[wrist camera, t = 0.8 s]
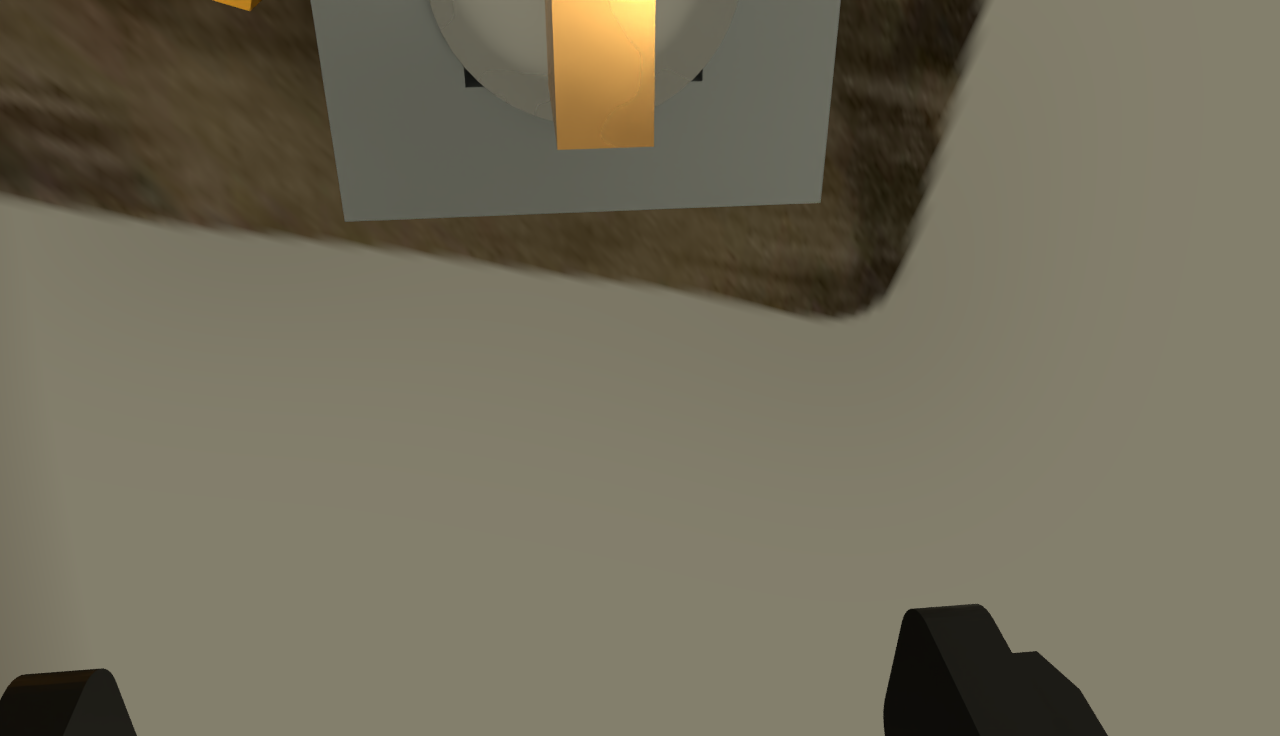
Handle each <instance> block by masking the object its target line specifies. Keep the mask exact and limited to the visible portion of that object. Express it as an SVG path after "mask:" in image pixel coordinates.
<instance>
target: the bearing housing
mask: <svg viewBox="0 0 1280 736" xmlns="http://www.w3.org/2000/svg"><path fill="white" fill-rule="evenodd" d="M840 2H841V0H738V2H737V6H736V9H735V12H734V15H733V17H732V20H731V23H730V26H729V28H728V30H727V32H726V34H725V36H724V38H723V40H722V42H721V44H720V45H719V47H718V48H717V50H716V51H715V53H714V54H713V56H712V57H711V59H710V60H709V62H708V63H707V64H706V65H705V66H704V68H703V69H702V70H701V71H700V72H699V73H698V75H697V76H696V77H695V78H694V79H693V80H692V81H691V82H689V83H688V84H687V85H686V86H685V87H684V88H683V89H682V90H680V91H679V92H678V93H676V94H675V95H674V96H672V97H671V98H669V99H668V100H666V101H665V102H663V103H661V104H660V105H658V106H656V107H654V147H629V148H599V149H569V150H557V143H556V136H555V129H554V122H553V121H550V120H547V119H544V118H540V117H537V116H534V115H531V114H529V113H526V112H524V111H522V110H520V109H517V108H515V107H513V106H511V105H510V104H508V103H507V102H505V101H503V100H502V99H500V98H498V97H497V96H495V95H494V94H493V93H492V92H490V91H489V90H488V89H486V88H485V87H484V86H483V85H481V84H480V83H479V82H478V81H477V80H476V79H475V78H474V77H473V76H472V75H471V74H470V73H469V72H468V71H467V70H466V69H465V67H464V66H463V65H462V63H461V62H460V61H459V59H458V58H457V57H456V55H455V54H454V53H453V51H452V50H451V48H450V46H449V45H448V43H447V41H446V40H445V38H444V36H443V34H442V33H441V30H440V28H439V26H438V23H437V21H436V19H435V16H434V14H433V11H432V8H431V4H430V1H429V0H311V6H312V13H313V19H314V26H315V32H316V38H317V45H318V51H319V58H320V64H321V71H322V77H323V84H324V90H325V96H326V103H327V109H328V116H329V122H330V129H331V135H332V141H333V148H334V154H335V161H336V167H337V174H338V180H339V187H340V193H341V199H342V206H343V212H344V219H345V222H348V221H373V220H399V219H424V218H449V217H474V216H499V215H525V214H550V213H575V212H600V211H625V210H651V209H676V208H701V207H726V206H751V205H777V204H802V203H820V201H821V191H822V181H823V171H824V161H825V151H826V141H827V131H828V121H829V112H830V102H831V92H832V82H833V72H834V62H835V52H836V42H837V32H838V22H839V12H840Z"/></svg>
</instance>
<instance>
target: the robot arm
mask: <svg viewBox="0 0 1280 736" xmlns="http://www.w3.org/2000/svg"><path fill="white" fill-rule="evenodd" d="M883 713H884V714H883V715H884V716H883V719H884V732H885V736H1108V735H1107V734H1106V732H1105V730H1104V729H1103V727H1102V725H1101V724H1100V722H1099V720H1098V719H1097V717H1096V715H1095V714H1094V712H1093V711H1092V709H1091V707H1090V706H1089V704H1088V702H1087V701H1086V699H1085V697H1084V696H1083V694H1082V693H1081V691H1080V689H1079V688H1077V687H1076V686H1075V685H1074V684H1073V683H1072V682H1071V681H1070V680H1068V679H1067V678H1066V677H1065V676H1064V675H1063V674H1062V673H1061V672H1059V671H1058V670H1057V669H1056V668H1055V667H1054V666H1053V665H1052V664H1050V663H1049V662H1048V661H1047V660H1046V659H1045V658H1044V657H1043V656H1041V655H1040V654H1039V653H1038V652H1037V651H1034V652H1022V653H1012V652H1011V650H1010V648H1009V647H1008V645H1007V643H1006V641H1005V640H1004V638H1003V636H1002V634H1001V632H1000V630H999V629H998V627H997V625H996V623H995V621H994V620H993V618H992V617H991V615H990V613H989V612H988V611H987V610H986V609H985V608H984V607H983V606H981V605H979V604H968V605H956V606H942V607H929V608H916V609H910V610H908V611H907V612H906V613H905V615H904V617H903V620H902V624H901V629H900V633H899V638H898V643H897V647H896V651H895V656H894V660H893V665H892V670H891V674H890V679H889V683H888V687H887V693H886V697H885V702H884V711H883ZM0 736H137V735H136V732H135V730H134V727H133V725H132V722H131V719H130V717H129V714H128V712H127V709H126V706H125V704H124V701H123V699H122V696H121V693H120V691H119V688H118V686H117V683H116V681H115V679H114V677H113V675H112V674H111V672H109V671H108V670H106V669H90V670H77V671H64V672H51V673H38V674H25V675H21V676H19V677H17V678H16V679H14V680H13V681H12V682H11V684H10V685H9V686H8V687H7V689H6V691H5V692H4V694H3V696H2V698H1V700H0Z"/></svg>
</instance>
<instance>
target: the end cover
mask: <svg viewBox="0 0 1280 736" xmlns="http://www.w3.org/2000/svg"><path fill="white" fill-rule="evenodd" d="M429 1H430V4H431V8H432V11H433V14H434V16H435V19H436V21H437V23H438V26H439V28H440V30H441V33H442V34H443V36H444V38H445V40H446V41H447V43H448V45H449V46H450V48H451V50H452V51H453V53H454V54H455V55H456V57H457V58H458V59H459V61H460V62H461V63H462V65H463V66H464V67H465V69H466V70H467V71H468V72H469V73H470V74H471V75H472V76H473V77H474V78H475V79H476V80H477V81H478V82H479V83H480V84H481V85H483V86H484V87H485V88H486V89H488V90H489V91H490V92H492V93H493V94H494V95H495V96H497V97H498V98H500V99H502V100H503V101H505V102H507V103H508V104H510V105H511V106H513V107H515V108H517V109H520V110H522V111H524V112H526V113H529V114H531V115H534V116H537V117H540V118H544V119H547V120H550V121H553V122H554V129H555V136H556V143H557V150H569V149H599V148H629V147H654V107H656V106H658V105H660V104H661V103H663V102H665V101H666V100H668V99H669V98H671V97H672V96H674V95H675V94H676V93H678V92H679V91H680V90H682V89H683V88H684V87H685V86H686V85H687V84H688V83H689V82H691V81H692V80H693V79H694V78H695V77H696V76H697V75H698V73H699V72H700V71H701V70H702V69H703V68H704V66H705V65H706V64H707V63H708V62H709V60H710V59H711V57H712V56H713V54H714V53H715V51H716V50H717V48H718V47H719V45H720V44H721V42H722V40H723V38H724V36H725V34H726V32H727V30H728V28H729V26H730V23H731V20H732V17H733V15H734V12H735V9H736V6H737V2H738V0H429Z"/></svg>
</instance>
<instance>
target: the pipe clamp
mask: <svg viewBox="0 0 1280 736" xmlns="http://www.w3.org/2000/svg"><path fill="white" fill-rule="evenodd" d="M213 1H217V2H220V3H224V4H227V5H231V6H234V7H237V8H241V9H244V10H248V11H251V10H252V9H253V8H254V7H255V6H256V5H257V4H258V3H259V2H260V1H262V0H213Z"/></svg>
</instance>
